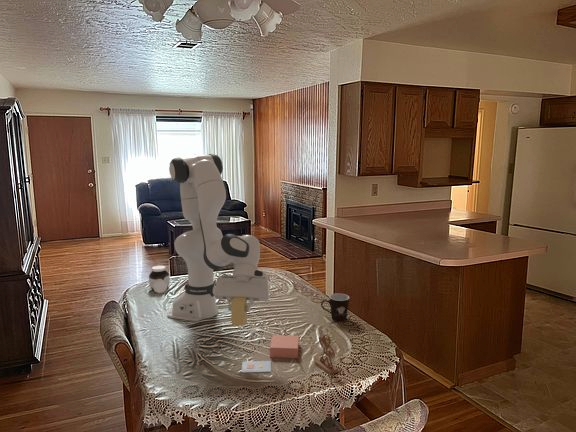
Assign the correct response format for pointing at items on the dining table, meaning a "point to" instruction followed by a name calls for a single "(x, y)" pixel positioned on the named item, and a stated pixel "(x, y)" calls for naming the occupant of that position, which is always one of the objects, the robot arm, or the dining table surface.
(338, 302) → the coffee mug
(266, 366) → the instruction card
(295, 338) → the base brick
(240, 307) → the ochre brick
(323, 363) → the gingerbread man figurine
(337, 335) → the dining table surface
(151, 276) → the spread jar
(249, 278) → the robot arm
